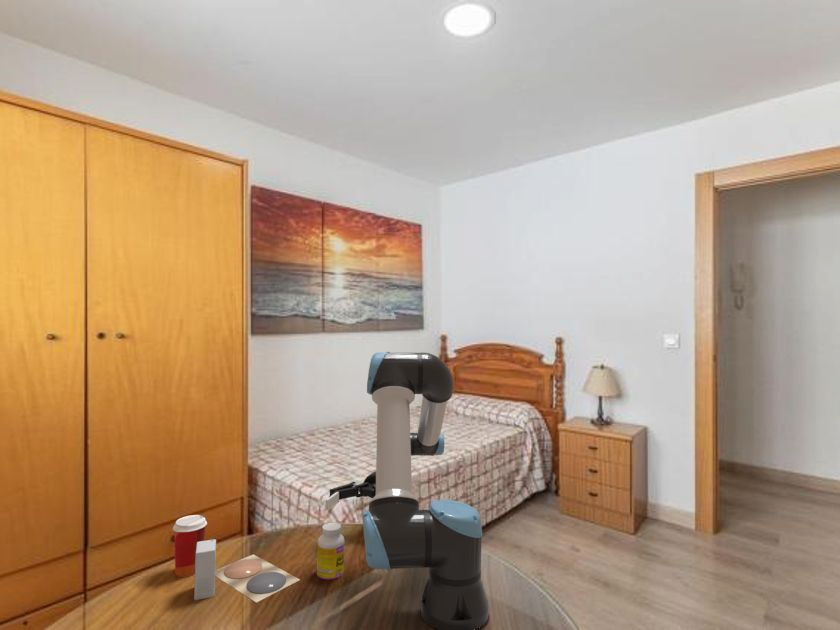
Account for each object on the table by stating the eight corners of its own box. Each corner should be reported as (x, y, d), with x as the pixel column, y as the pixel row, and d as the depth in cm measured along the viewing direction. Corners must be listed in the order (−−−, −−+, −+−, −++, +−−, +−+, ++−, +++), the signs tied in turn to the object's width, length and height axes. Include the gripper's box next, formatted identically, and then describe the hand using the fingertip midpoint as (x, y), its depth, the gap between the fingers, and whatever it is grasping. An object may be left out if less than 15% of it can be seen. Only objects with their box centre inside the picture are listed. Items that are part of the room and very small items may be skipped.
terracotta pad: (269, 568, 115) (269, 566, 115) (236, 583, 108) (236, 581, 108) (249, 557, 121) (249, 555, 121) (216, 570, 114) (217, 569, 114)
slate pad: (293, 581, 109) (293, 580, 109) (261, 598, 102) (261, 597, 102) (271, 569, 115) (271, 568, 115) (238, 584, 108) (239, 583, 108)
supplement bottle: (337, 587, 110) (338, 533, 110) (312, 583, 111) (313, 530, 112) (347, 573, 117) (348, 522, 117) (323, 569, 118) (324, 519, 118)
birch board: (300, 586, 110) (300, 579, 110) (256, 609, 101) (256, 602, 101) (253, 559, 122) (253, 554, 122) (209, 578, 113) (210, 572, 113)
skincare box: (194, 593, 106) (196, 541, 107) (214, 589, 108) (216, 538, 109) (193, 607, 101) (195, 553, 101) (214, 603, 103) (216, 549, 103)
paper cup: (195, 565, 119) (197, 511, 119) (211, 575, 114) (213, 519, 115) (164, 578, 112) (166, 521, 113) (179, 589, 108) (182, 529, 108)
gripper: (415, 500, 141) (391, 528, 120) (343, 489, 148) (308, 515, 128) (415, 475, 141) (391, 500, 121) (343, 466, 148) (309, 488, 128)
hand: (348, 508), depth 124 cm, fingers open, 13 cm apart
